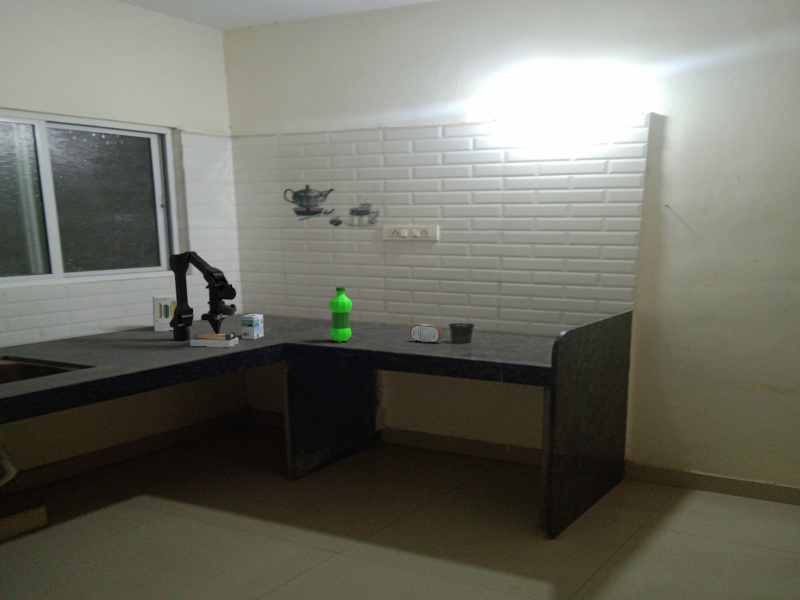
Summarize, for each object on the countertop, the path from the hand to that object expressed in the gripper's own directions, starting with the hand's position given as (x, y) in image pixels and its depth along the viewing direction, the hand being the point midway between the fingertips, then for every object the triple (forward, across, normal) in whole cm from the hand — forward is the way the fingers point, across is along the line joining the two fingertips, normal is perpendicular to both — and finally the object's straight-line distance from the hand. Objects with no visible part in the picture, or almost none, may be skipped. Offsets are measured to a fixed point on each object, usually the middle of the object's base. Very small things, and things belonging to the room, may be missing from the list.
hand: (217, 334), depth 280 cm
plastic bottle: (+6, +18, -52) cm, 55 cm away
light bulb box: (+5, +23, -8) cm, 25 cm away
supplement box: (+4, +42, +46) cm, 62 cm away
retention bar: (+1, 0, +1) cm, 2 cm away
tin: (+7, +21, -90) cm, 93 cm away
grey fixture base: (+5, 0, +2) cm, 5 cm away
